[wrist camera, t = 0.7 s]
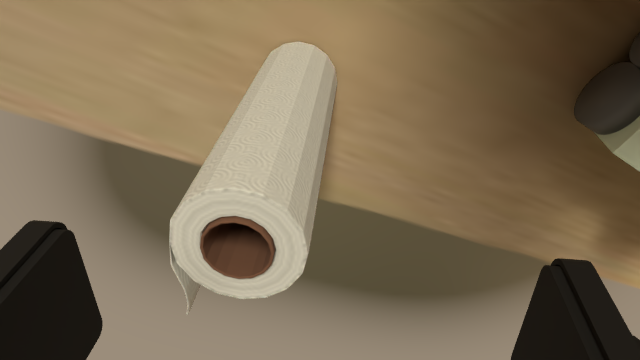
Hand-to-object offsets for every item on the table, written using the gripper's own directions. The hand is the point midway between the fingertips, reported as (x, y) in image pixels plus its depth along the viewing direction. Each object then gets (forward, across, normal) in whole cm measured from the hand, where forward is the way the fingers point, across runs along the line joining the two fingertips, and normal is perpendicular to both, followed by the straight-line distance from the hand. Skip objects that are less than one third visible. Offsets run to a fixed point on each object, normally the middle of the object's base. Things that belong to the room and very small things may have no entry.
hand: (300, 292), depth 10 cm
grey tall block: (+30, +4, +7) cm, 31 cm away
